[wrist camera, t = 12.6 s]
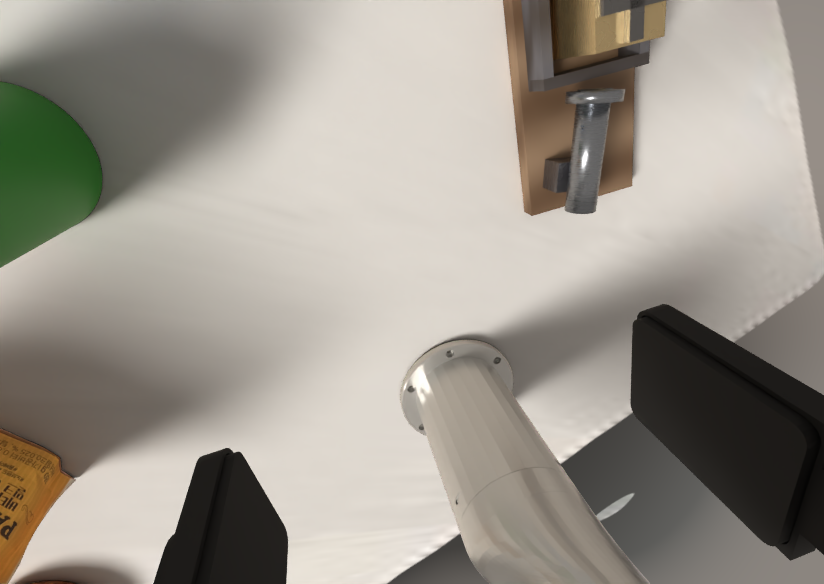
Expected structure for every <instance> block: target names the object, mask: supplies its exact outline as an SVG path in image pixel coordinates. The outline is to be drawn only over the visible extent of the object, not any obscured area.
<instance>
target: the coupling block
mask: <svg viewBox="0 0 824 584" xmlns="http://www.w3.org/2000/svg"><path fill="white" fill-rule="evenodd" d="M549 2H550V19H551V37H552V54H553V60H557V59H564V58H571V57H578V56H585V55H592V54H598V53H601V52H605V51H609V50H613V49H617V48H621V47H625V46H628V45H632V44H636V43H640V42H644V41H648V40H651V39H655V38H659V37H663V36H664V33H665V14H666V0H549Z"/></svg>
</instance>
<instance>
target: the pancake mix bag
mask: <svg viewBox="0 0 824 584" xmlns="http://www.w3.org/2000/svg"><path fill="white" fill-rule="evenodd" d="M75 480H76V479H74V478H72V477H71V476H69V475H68V474H66V473H65V472H63V471H62V470H61V460H60V457H58V456H57V455H55V454H53V453H52V452H50V451H49V450H47V449H46V448H44V447H41V446H39V445H37V444H34V443H32V442H30V441H28V440H25V439H23V438H21V437H19V436H17V435H14V434H12V433H10V432H8V431H5V430H3V429H1V428H0V584H8V583H9V581H10V579H11V578H12V576H13V574H14V573H15V571H16V569H17V568H18V566H19V564H20V562H21V560H22V557H23V555H24V552H25V550H26V548H27V545H28V543H29V542H30V540H31V538H32V536H33V534H34V532H35V531H36V529H37V527H38V526H39V524H40V523H41V521H42V520H43V518H44V517H45V515H46V514H47V513H48V511H49V510H50V509H51V507H52V506H53V504H54V503H55V502H56V500H57V499H58V498H59V497H60V496H61V495H62V494H63V493H64V492H65V490H66V489H67V488H68V487H69V486H70V485H71V484H72V483H73V482H74V481H75Z"/></svg>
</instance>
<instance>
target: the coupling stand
mask: <svg viewBox="0 0 824 584" xmlns="http://www.w3.org/2000/svg"><path fill="white" fill-rule="evenodd" d="M503 5H504V15H505V24H506V34H507V44H508V54H509V64H510V74H511V84H512V93H513V103H514V113H515V123H516V133H517V143H518V153H519V162H520V172H521V182H522V192H523V202H524V212H526V213H528V214H530V215H531V216H533V215H537V214H540V213H543V212H547V211H550V210H553V209H557V208H560V207H563V206H565V201H566V192H561V193H555V192H552V191H550V190H547V189H545V188H543V177H544V165H545V159H554V158H565V157H570V156H571V146H572V137H573V128H574V119H575V110H576V104H565V98H566V92H568V91H578V90H579V89H596V88H613V89H625V94H624V100H623V102H614V103H611V107H610V114H609V121H608V128H607V135H606V142H605V149H604V156H603V163H602V170H601V177H600V184H599V191H598V196H600V195H604V194H607V193H610V192H614V191H617V190H620V189H624V188H627V187H630V186H632V166H633V120H634V74H635V67H637V66H641V65H645V64H648V63H649V51H650V40H648V41H644V42H640V43H636V44H632V45H628V46H625V47H621V48H617V49H613V50H609V51H605V52H601V53H598V54H592V55H585V56H578V57H571V58H564V59H557V60H553V54H552V37H551V19H550V2H549V0H503Z"/></svg>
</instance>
